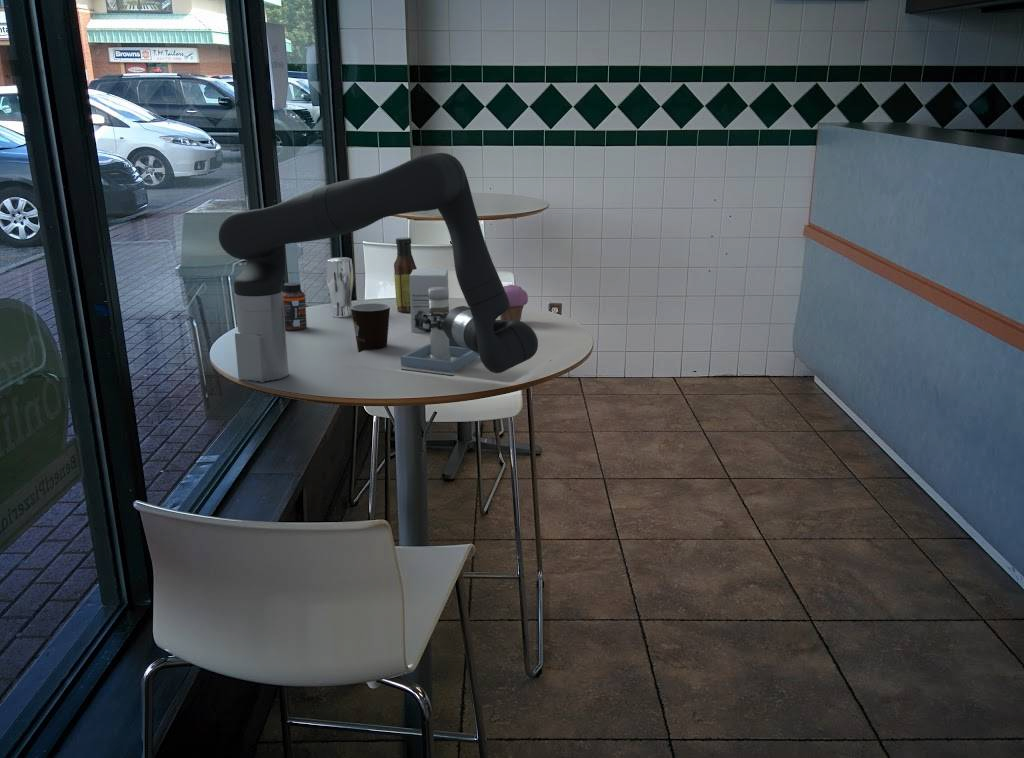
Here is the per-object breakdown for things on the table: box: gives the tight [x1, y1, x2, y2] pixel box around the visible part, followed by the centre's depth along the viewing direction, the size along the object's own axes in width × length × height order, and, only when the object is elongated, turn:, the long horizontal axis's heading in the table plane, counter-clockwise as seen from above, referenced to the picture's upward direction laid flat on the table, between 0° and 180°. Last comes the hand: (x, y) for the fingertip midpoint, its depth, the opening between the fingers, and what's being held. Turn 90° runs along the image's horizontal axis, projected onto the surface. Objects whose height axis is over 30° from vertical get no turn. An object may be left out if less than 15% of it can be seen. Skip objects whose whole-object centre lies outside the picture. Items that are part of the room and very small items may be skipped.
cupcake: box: [499, 284, 529, 321], centre depth 227 cm, size 9×9×10 cm
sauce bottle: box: [393, 236, 418, 313], centre depth 240 cm, size 7×6×20 cm
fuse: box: [428, 287, 451, 361], centre depth 186 cm, size 4×4×16 cm
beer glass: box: [325, 256, 354, 318], centre depth 236 cm, size 7×7×15 cm
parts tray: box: [400, 343, 479, 377], centre depth 188 cm, size 12×12×3 cm
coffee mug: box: [351, 302, 391, 353], centre depth 201 cm, size 12×9×10 cm
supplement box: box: [409, 268, 450, 334], centre depth 217 cm, size 9×9×15 cm
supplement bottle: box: [283, 282, 308, 331], centre depth 221 cm, size 6×6×11 cm
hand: (438, 313), depth 186 cm, fingers open, 8 cm apart
